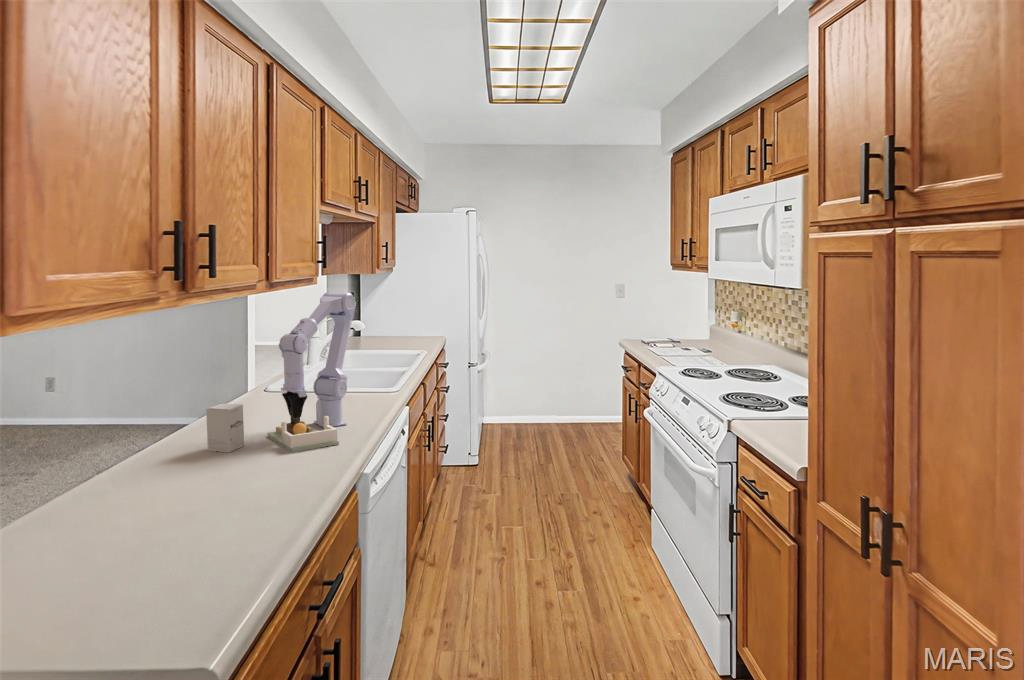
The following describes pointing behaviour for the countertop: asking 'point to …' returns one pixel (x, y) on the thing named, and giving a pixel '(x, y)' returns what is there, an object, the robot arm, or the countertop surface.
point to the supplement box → (225, 427)
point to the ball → (299, 428)
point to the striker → (292, 422)
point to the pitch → (305, 437)
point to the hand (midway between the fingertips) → (295, 416)
